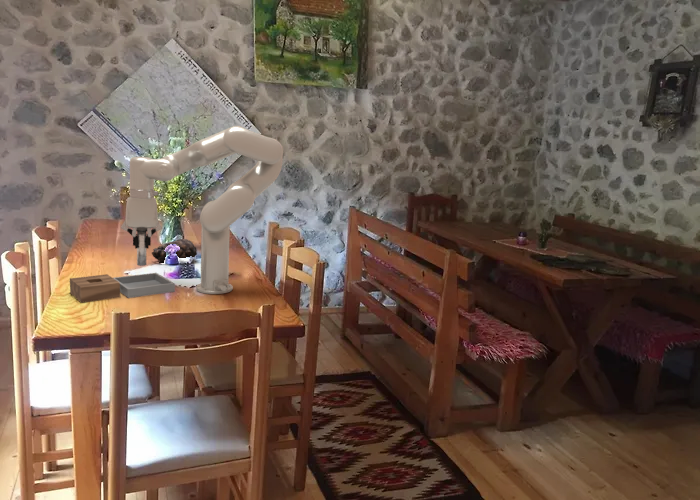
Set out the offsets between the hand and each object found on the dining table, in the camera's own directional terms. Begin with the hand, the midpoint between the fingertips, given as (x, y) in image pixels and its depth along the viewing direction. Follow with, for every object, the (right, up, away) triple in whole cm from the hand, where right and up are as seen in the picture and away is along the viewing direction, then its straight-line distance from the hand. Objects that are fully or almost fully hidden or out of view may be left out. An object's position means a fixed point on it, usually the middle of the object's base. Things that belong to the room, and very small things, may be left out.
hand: (141, 247), depth 199 cm
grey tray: (-1, -14, +3) cm, 15 cm away
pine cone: (-1, -7, +41) cm, 42 cm away
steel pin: (0, -6, +1) cm, 6 cm away
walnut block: (-13, -16, -7) cm, 22 cm away
